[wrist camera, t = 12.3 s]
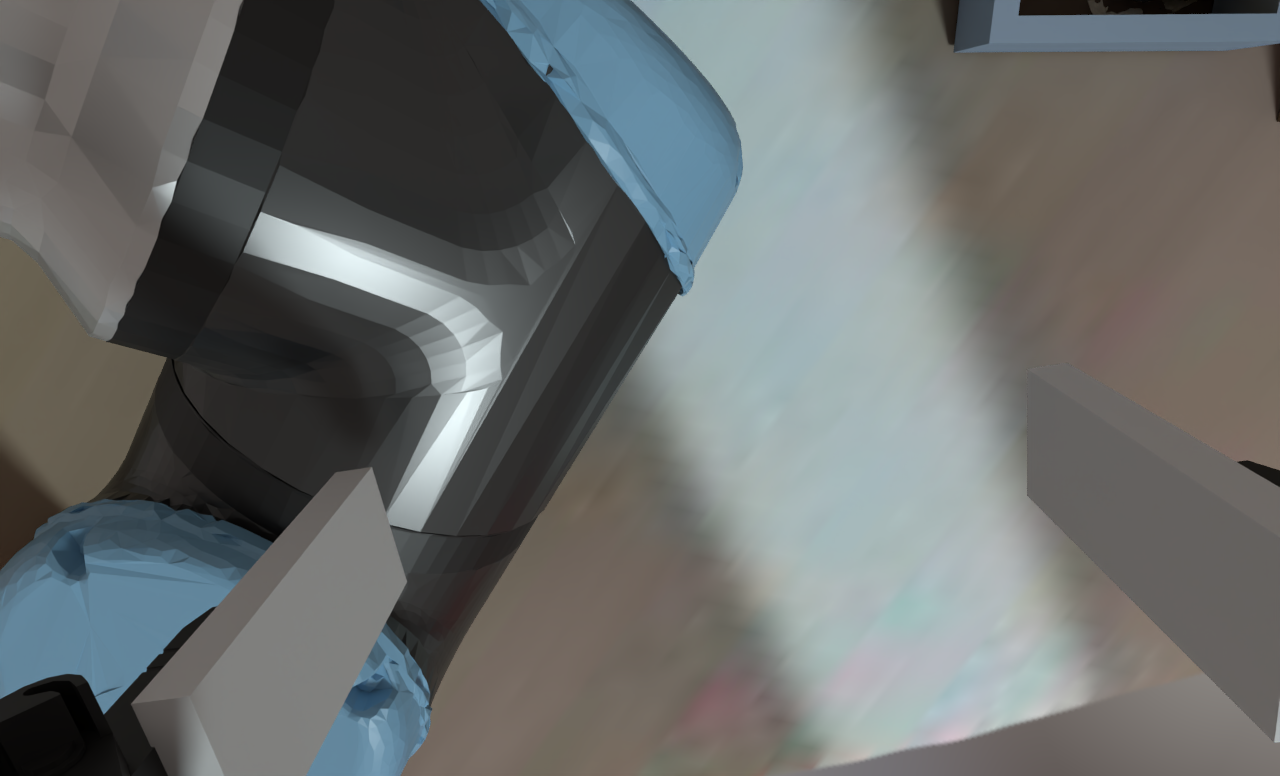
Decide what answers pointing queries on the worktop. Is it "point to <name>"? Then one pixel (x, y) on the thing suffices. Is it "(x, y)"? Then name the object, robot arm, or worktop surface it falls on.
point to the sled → (1115, 29)
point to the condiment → (1175, 3)
